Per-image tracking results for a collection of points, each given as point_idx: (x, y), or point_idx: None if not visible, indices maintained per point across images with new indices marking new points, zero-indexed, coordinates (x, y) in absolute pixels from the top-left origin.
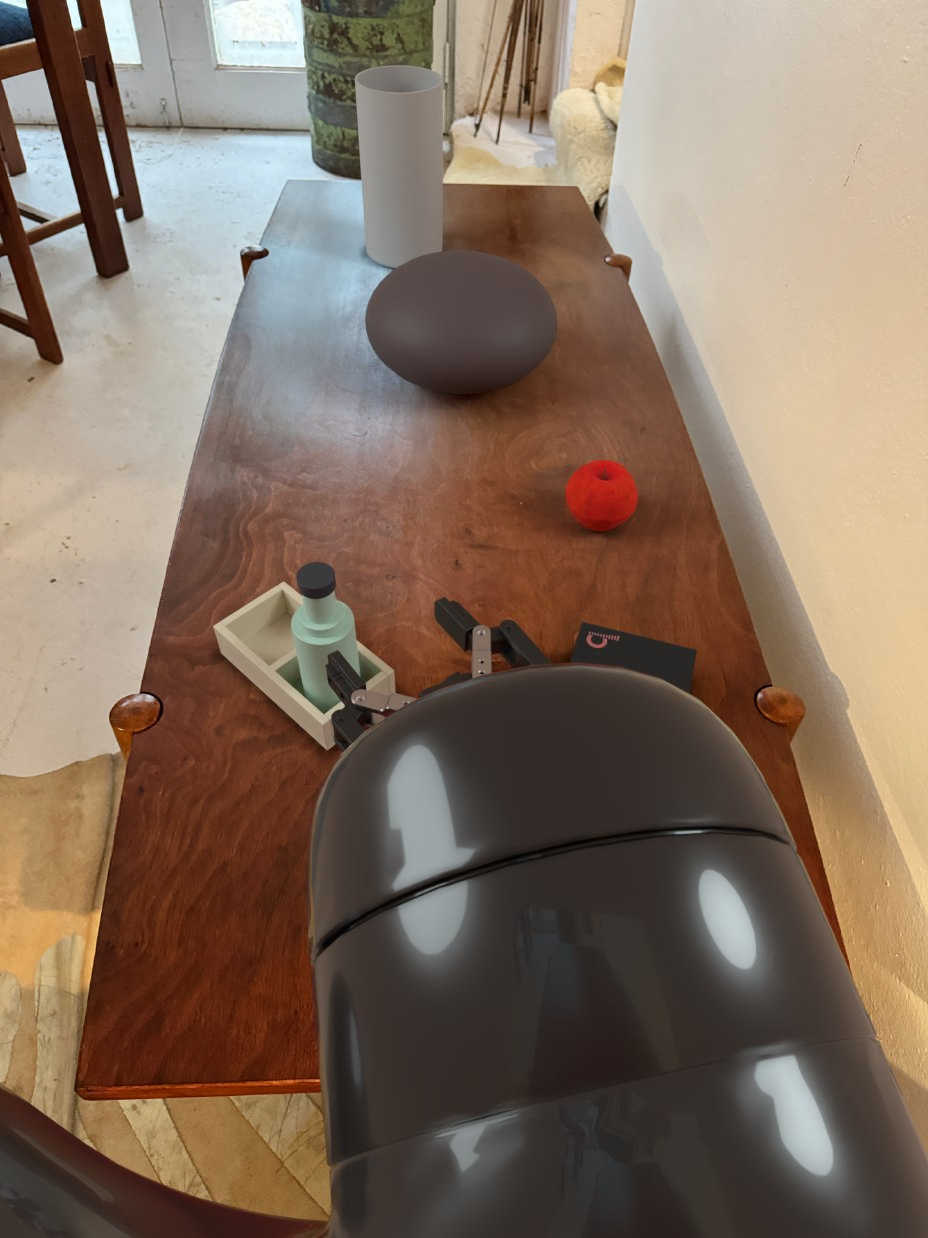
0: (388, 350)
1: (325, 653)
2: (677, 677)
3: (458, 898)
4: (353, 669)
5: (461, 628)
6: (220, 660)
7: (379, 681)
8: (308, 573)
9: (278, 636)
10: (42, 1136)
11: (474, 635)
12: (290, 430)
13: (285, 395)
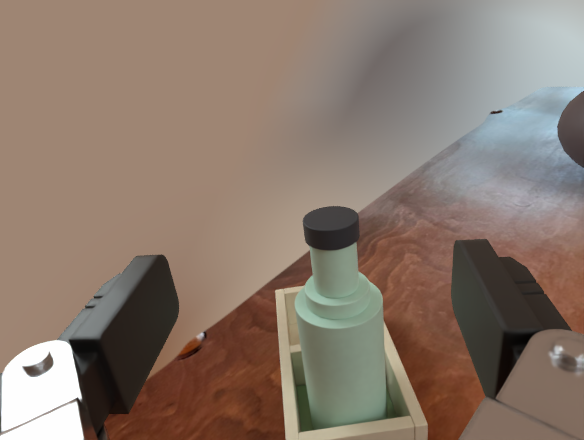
0: (574, 135)
1: (318, 341)
2: None
3: None
4: (126, 295)
5: (494, 321)
6: (275, 330)
7: (397, 429)
8: (323, 214)
9: None
10: None
11: (531, 354)
12: (458, 192)
13: (467, 173)
